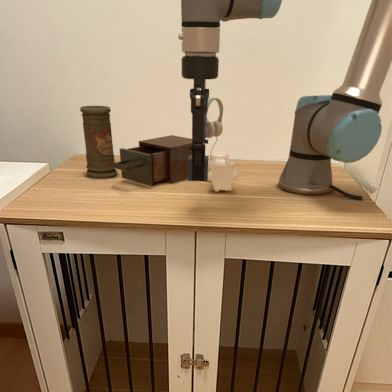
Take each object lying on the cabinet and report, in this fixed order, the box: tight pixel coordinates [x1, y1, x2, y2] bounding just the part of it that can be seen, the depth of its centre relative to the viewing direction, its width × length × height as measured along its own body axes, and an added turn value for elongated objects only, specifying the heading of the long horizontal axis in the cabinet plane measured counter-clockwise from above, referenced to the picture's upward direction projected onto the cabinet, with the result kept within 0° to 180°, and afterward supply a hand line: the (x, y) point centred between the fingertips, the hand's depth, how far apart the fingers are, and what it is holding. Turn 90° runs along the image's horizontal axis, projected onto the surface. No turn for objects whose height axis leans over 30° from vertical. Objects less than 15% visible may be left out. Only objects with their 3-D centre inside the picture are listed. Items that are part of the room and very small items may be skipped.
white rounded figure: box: [207, 150, 239, 193], centre depth 116 cm, size 15×9×8 cm, turn 2°
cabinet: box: [138, 134, 192, 184], centre depth 124 cm, size 15×13×10 cm
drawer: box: [109, 145, 169, 186], centre depth 117 cm, size 20×11×8 cm, turn 141°
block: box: [186, 155, 210, 182], centre depth 95 cm, size 5×5×5 cm
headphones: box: [205, 97, 224, 152], centre depth 128 cm, size 8×4×20 cm, turn 139°
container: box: [79, 105, 118, 179], centre depth 120 cm, size 9×9×18 cm
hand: (198, 177), depth 96 cm, fingers closed on block, 5 cm apart
